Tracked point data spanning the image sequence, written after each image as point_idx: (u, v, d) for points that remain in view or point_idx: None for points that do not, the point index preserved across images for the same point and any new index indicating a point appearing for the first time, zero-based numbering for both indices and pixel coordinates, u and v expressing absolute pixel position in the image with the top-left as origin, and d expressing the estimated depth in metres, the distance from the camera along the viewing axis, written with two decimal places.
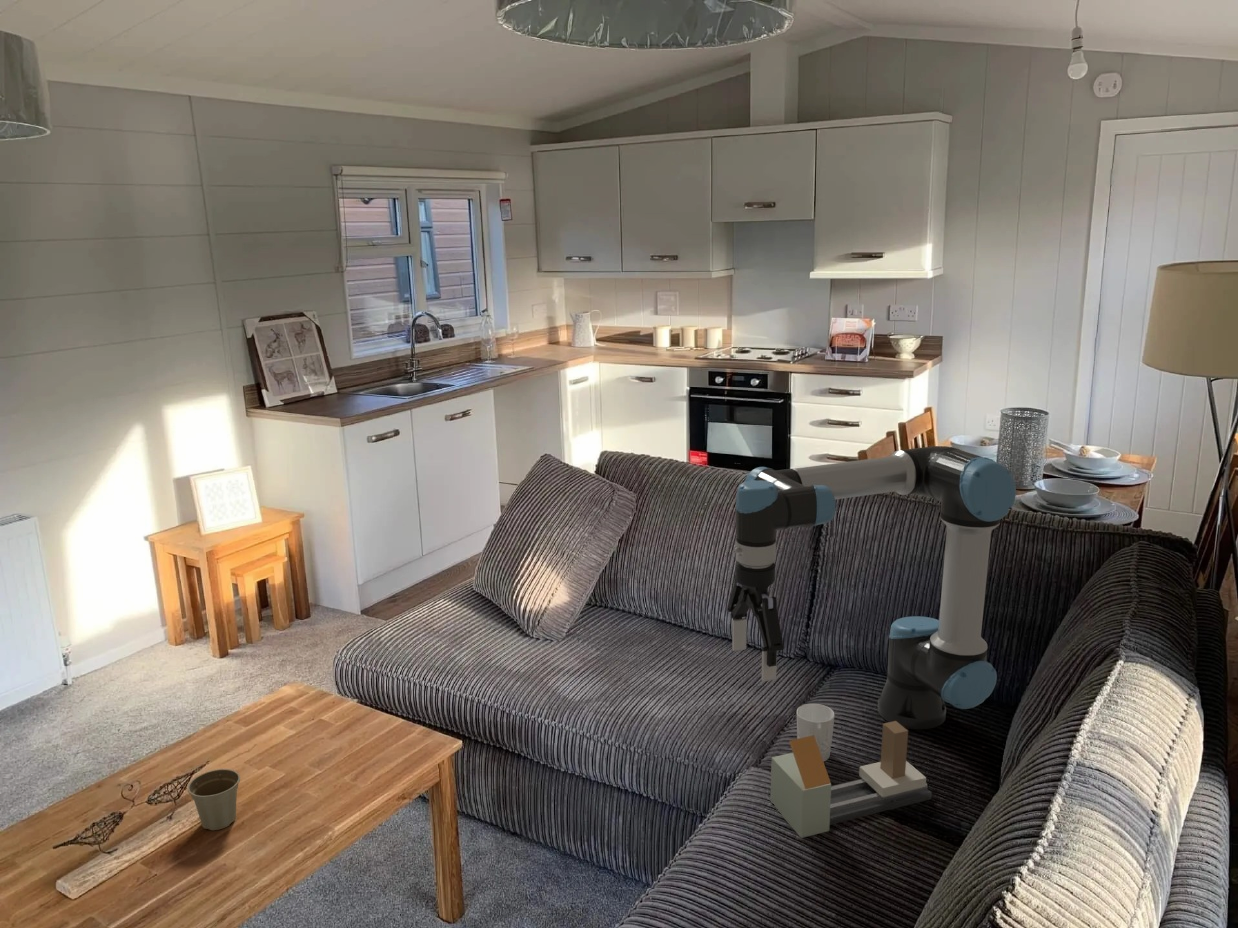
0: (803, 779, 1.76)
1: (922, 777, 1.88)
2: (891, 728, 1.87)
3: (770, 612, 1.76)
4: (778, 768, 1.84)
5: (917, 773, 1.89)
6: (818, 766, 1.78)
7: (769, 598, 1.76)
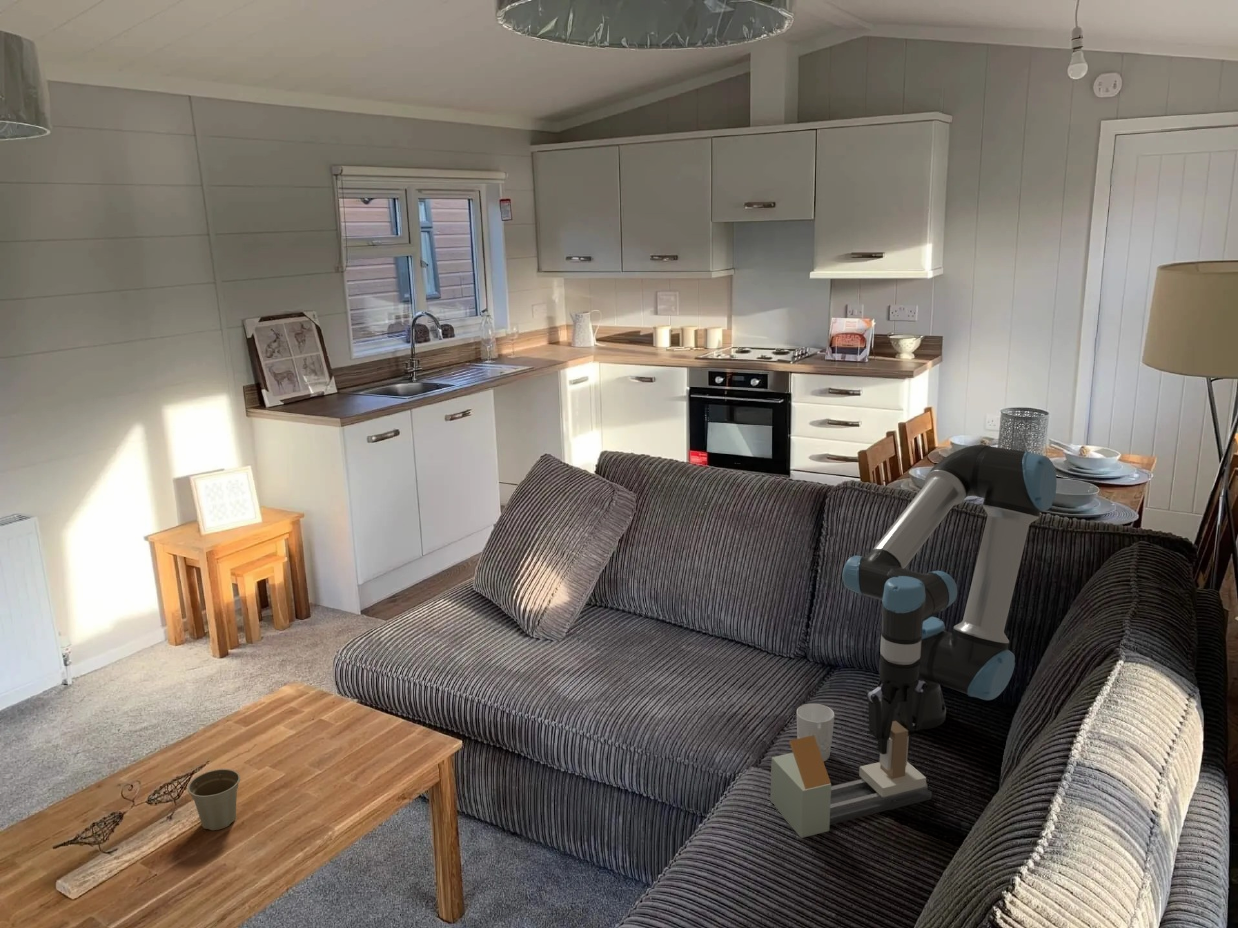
0: (803, 779, 1.76)
1: (922, 777, 1.88)
2: (891, 728, 1.87)
3: (871, 704, 1.84)
4: (778, 768, 1.84)
5: (917, 773, 1.89)
6: (818, 766, 1.78)
7: (869, 694, 1.83)
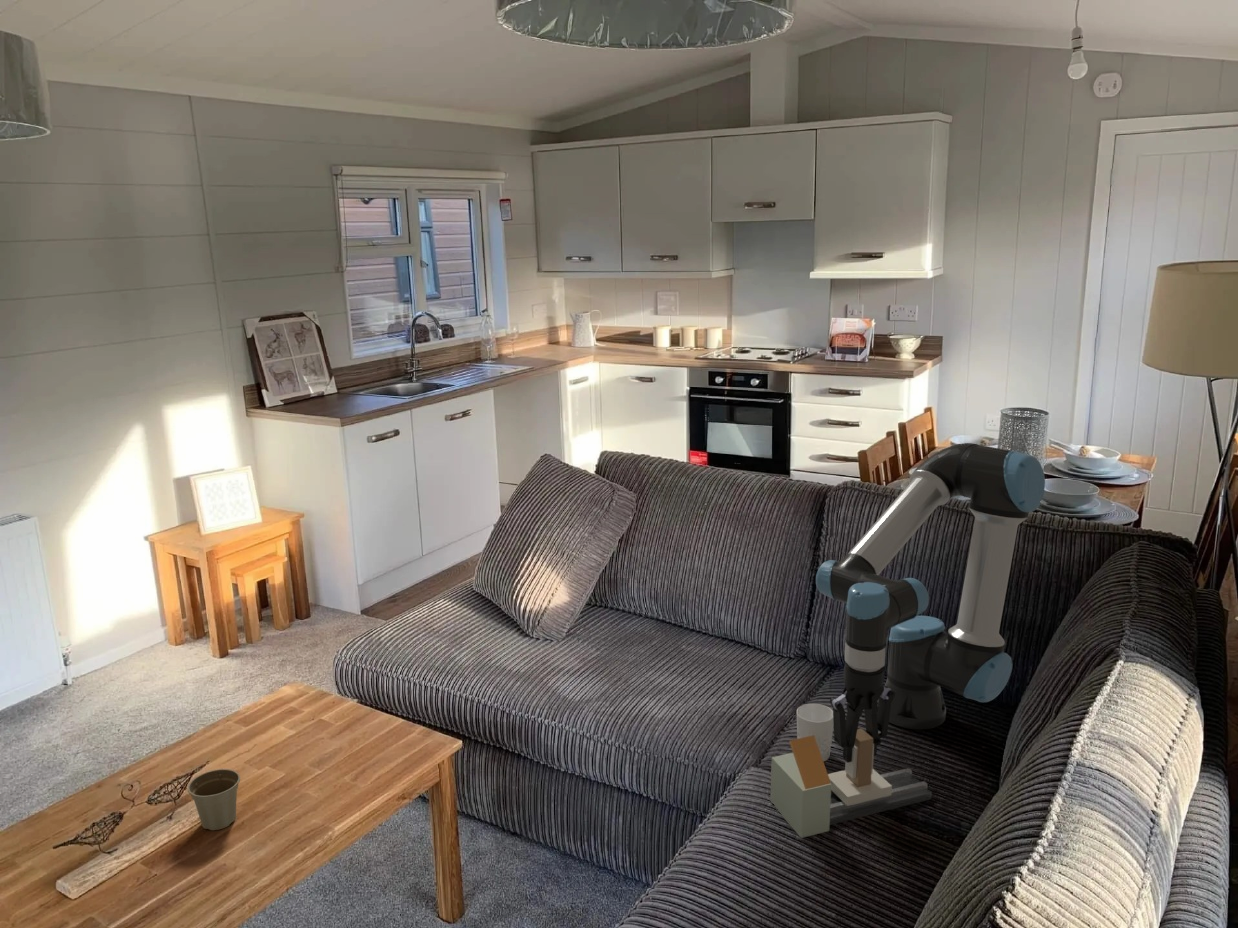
0: (803, 779, 1.76)
1: (888, 786, 1.85)
2: (856, 736, 1.84)
3: (836, 712, 1.82)
4: (778, 768, 1.84)
5: (883, 781, 1.87)
6: (818, 766, 1.78)
7: (833, 701, 1.81)
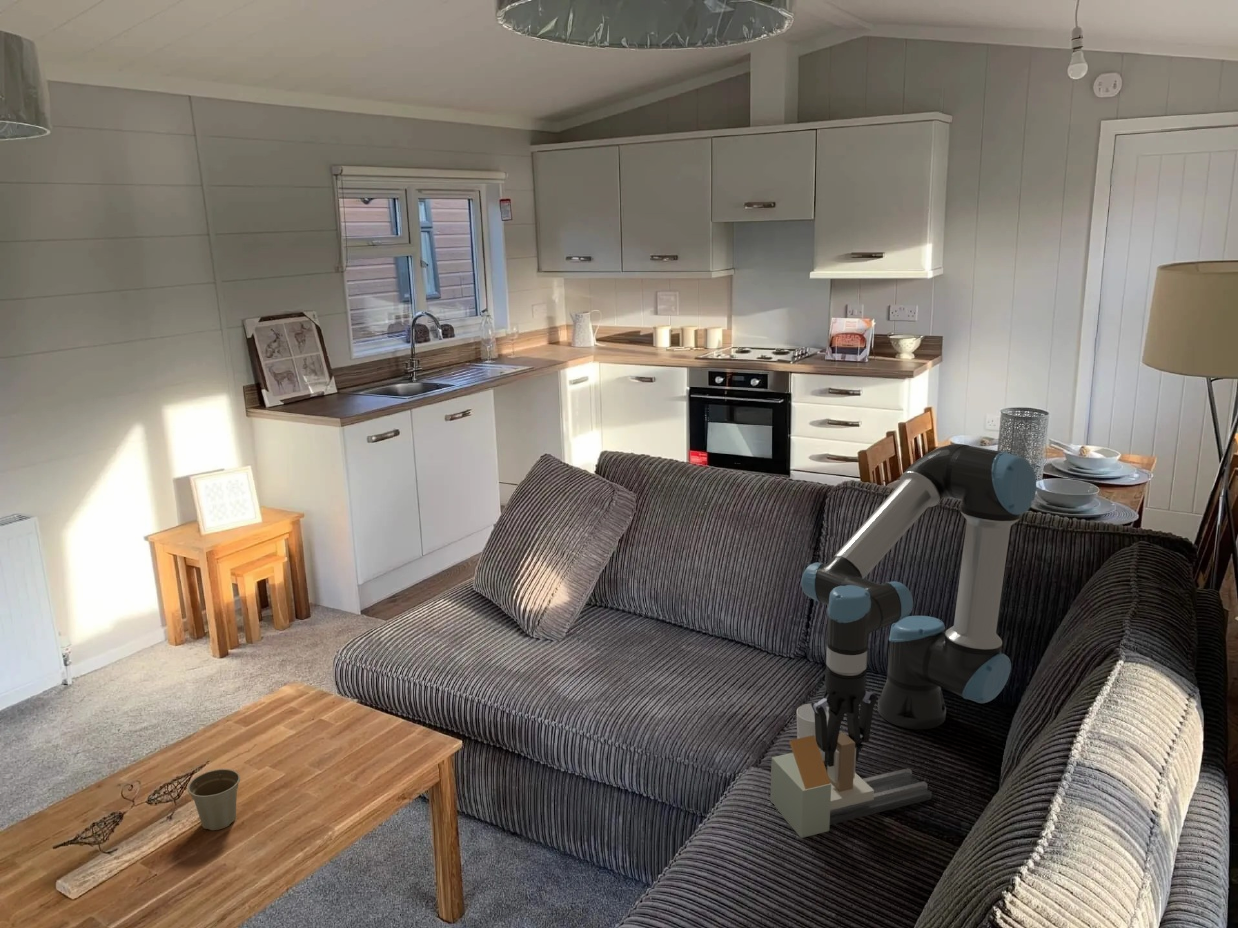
0: (803, 779, 1.76)
1: (870, 790, 1.84)
2: (838, 740, 1.83)
3: (817, 716, 1.80)
4: (778, 768, 1.84)
5: (865, 786, 1.86)
6: (818, 766, 1.78)
7: (815, 705, 1.80)
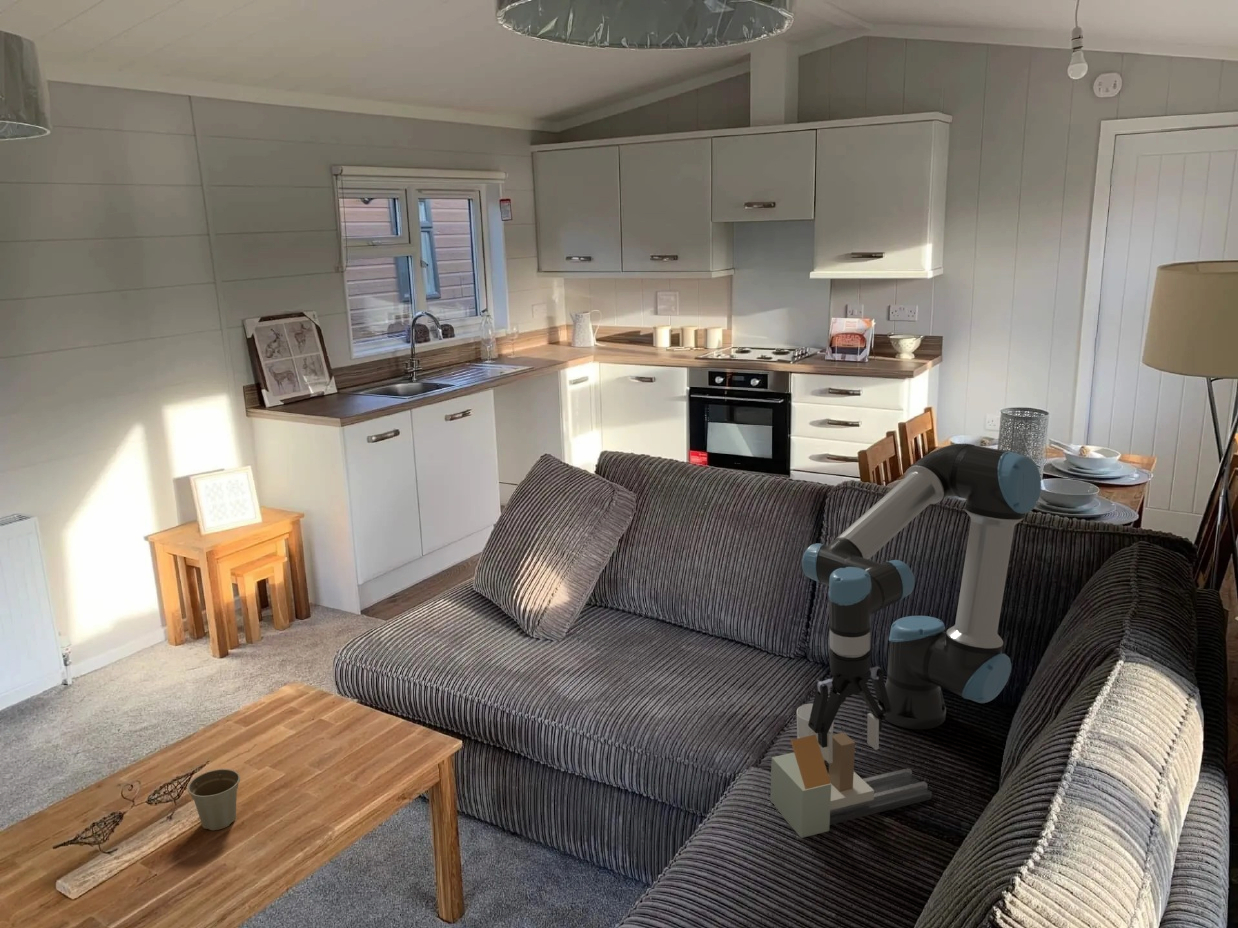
0: (803, 779, 1.76)
1: (870, 790, 1.84)
2: (838, 740, 1.83)
3: (818, 695, 1.79)
4: (778, 768, 1.84)
5: (865, 786, 1.86)
6: (819, 766, 1.78)
7: (819, 683, 1.79)
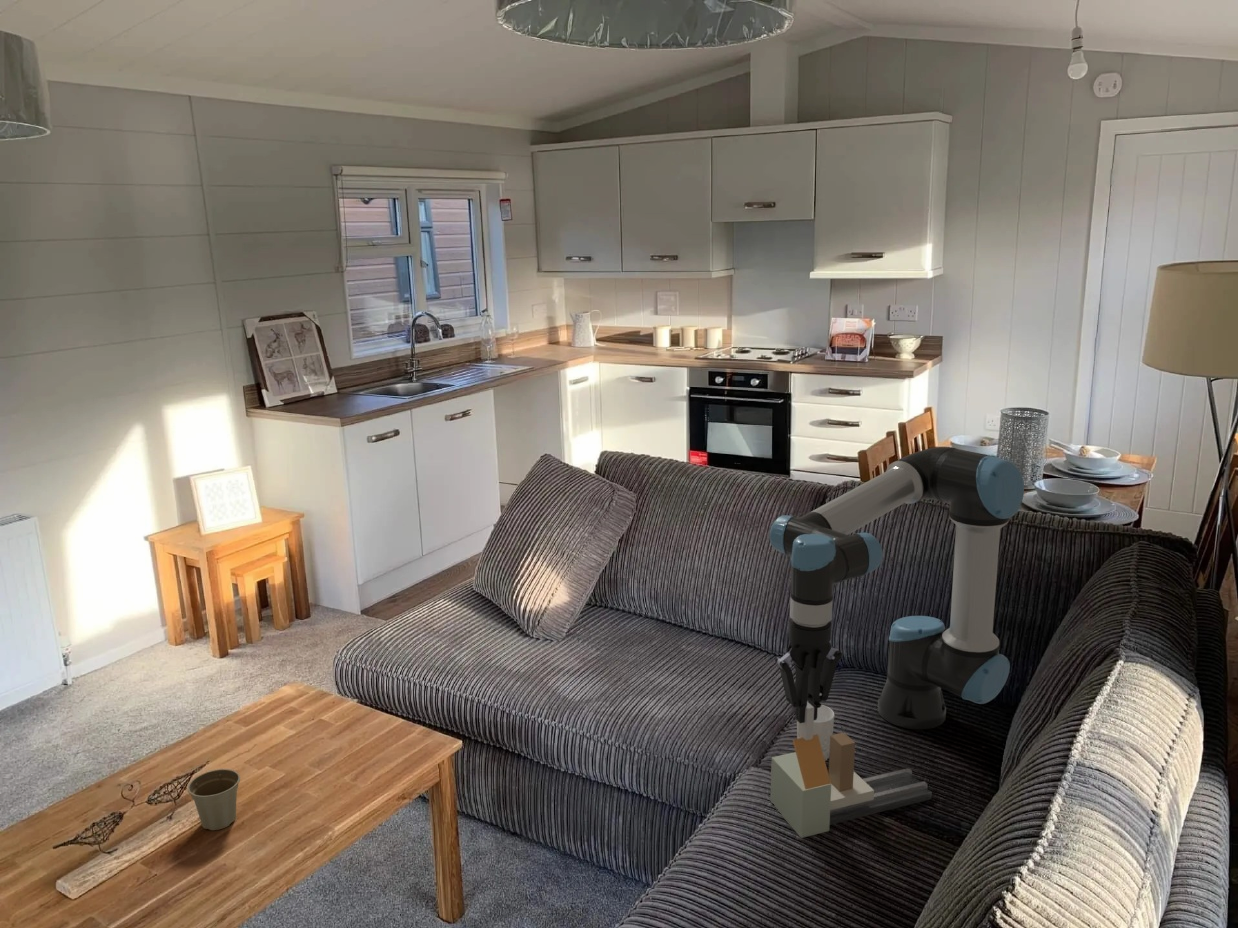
0: (804, 779, 1.76)
1: (870, 790, 1.84)
2: (838, 740, 1.83)
3: (783, 672, 1.73)
4: (778, 768, 1.84)
5: (865, 786, 1.86)
6: (820, 766, 1.77)
7: (778, 661, 1.72)
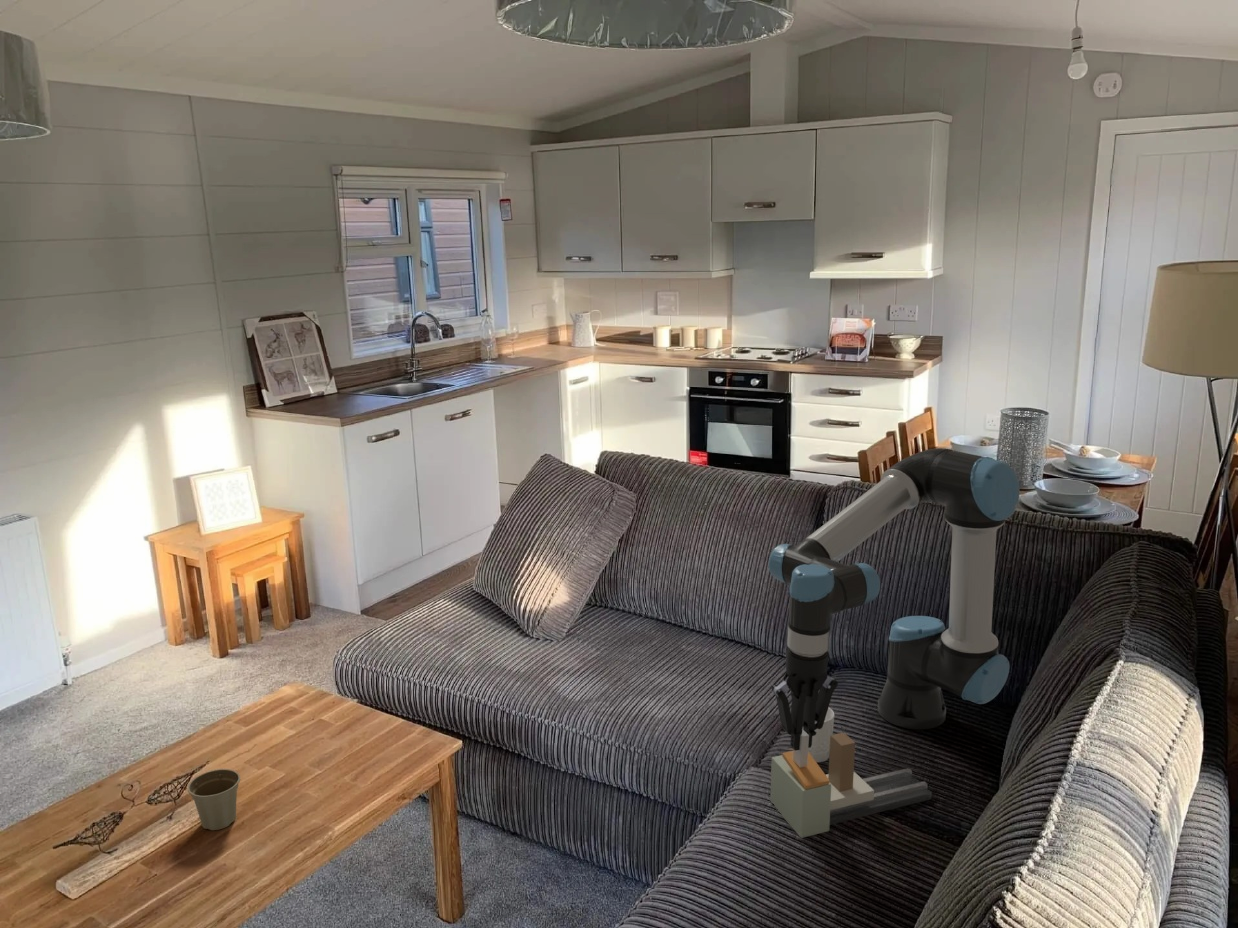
0: (801, 780, 1.77)
1: (870, 790, 1.84)
2: (838, 740, 1.83)
3: (779, 700, 1.75)
4: (778, 768, 1.84)
5: (865, 786, 1.86)
6: (815, 769, 1.79)
7: (775, 689, 1.74)
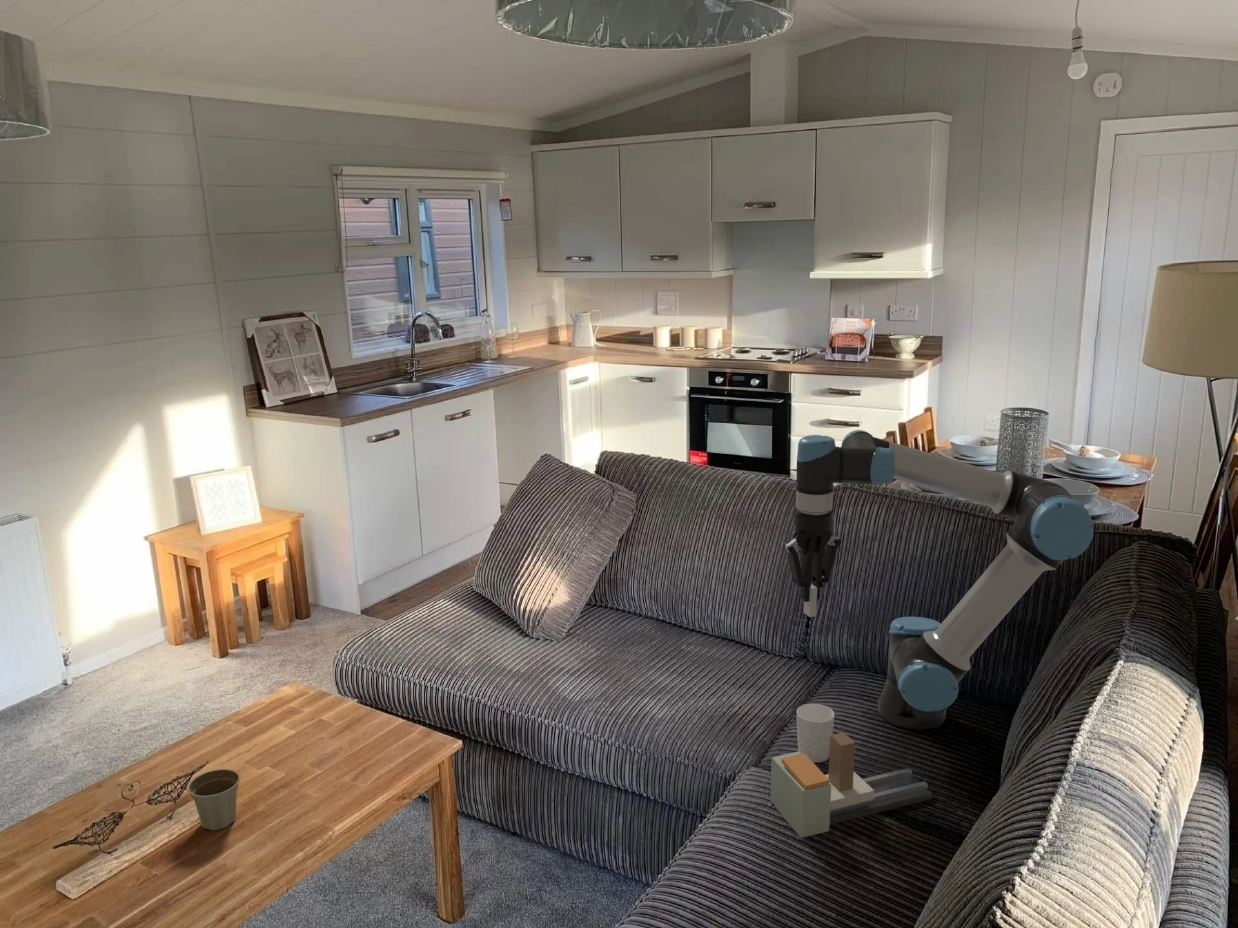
0: (801, 781, 1.77)
1: (870, 790, 1.84)
2: (838, 740, 1.83)
3: (790, 556, 2.00)
4: (778, 768, 1.84)
5: (865, 786, 1.86)
6: (814, 771, 1.80)
7: (786, 546, 1.99)
